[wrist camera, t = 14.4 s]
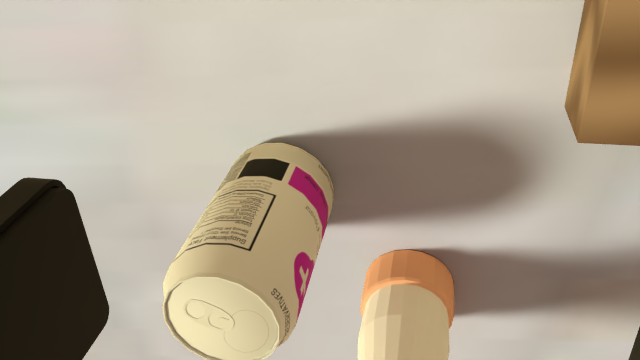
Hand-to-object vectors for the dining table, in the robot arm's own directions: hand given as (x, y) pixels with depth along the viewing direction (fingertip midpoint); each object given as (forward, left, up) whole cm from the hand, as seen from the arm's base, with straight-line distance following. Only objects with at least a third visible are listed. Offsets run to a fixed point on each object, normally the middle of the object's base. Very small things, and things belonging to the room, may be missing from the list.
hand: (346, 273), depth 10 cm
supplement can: (+18, -10, -31) cm, 37 cm away
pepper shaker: (+27, 0, -31) cm, 41 cm away
